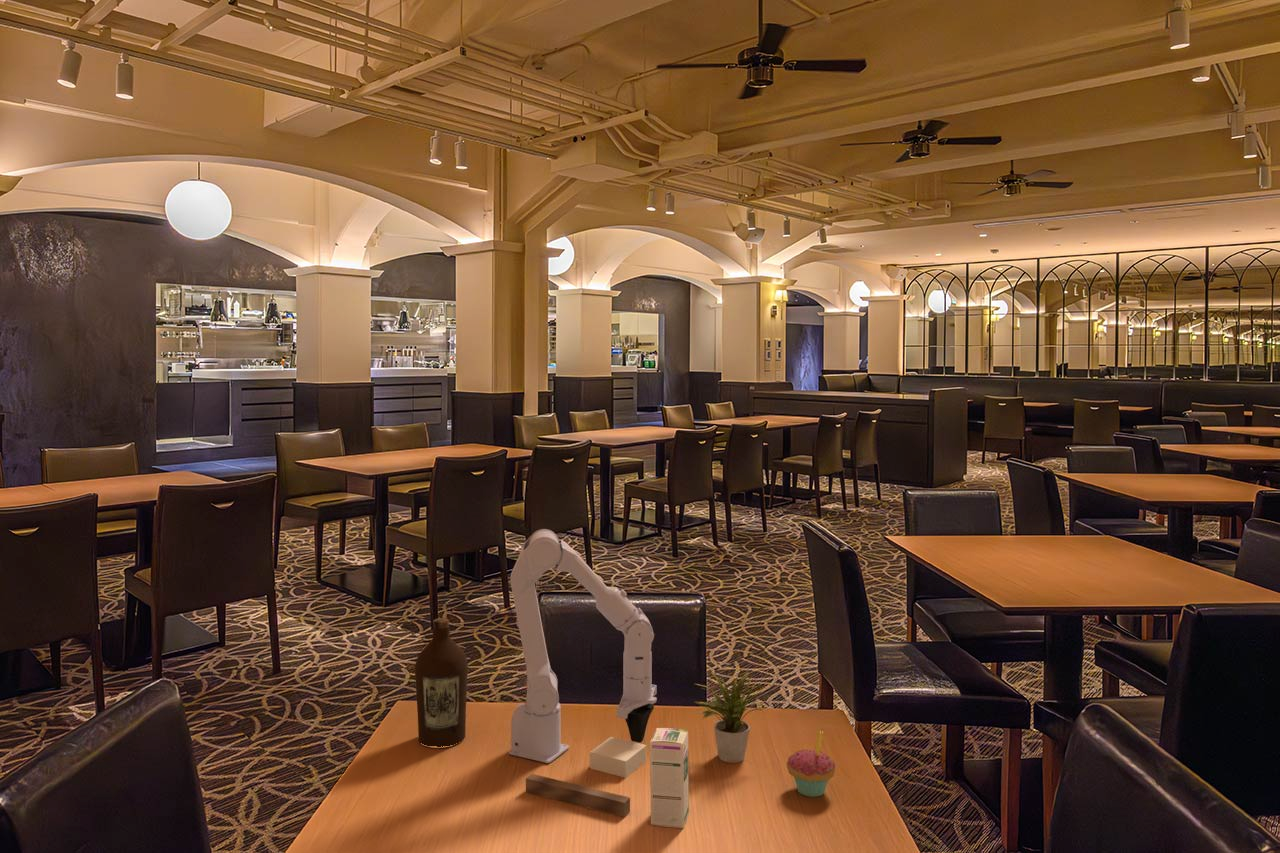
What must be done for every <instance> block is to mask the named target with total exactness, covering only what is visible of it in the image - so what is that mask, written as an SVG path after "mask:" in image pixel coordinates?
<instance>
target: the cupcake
mask: <svg viewBox="0 0 1280 853" xmlns="http://www.w3.org/2000/svg"><path fill="white" fill-rule="evenodd" d="M823 730H824V727H822V728H821V730H819V732H818V739H817V743H816V747H815V748H816V749H814V748H813V749H801V750H797V751H796V752H793V753H792V754H790V756H789V757H788V758H787V761H786V769H787V770H788V774H789V775H790V776H792V777H793V779H794V782H795V786H796V788H797V789H796V790H797V792H799V793H800V794H801V795H803V796H806V797H811V798H816V797H820V796H822V795H824V793H825V791H826V787H827V785H828V782H829V780H831V779H832V778H833V777H834V776H835V772H836V771H835V770H836V763H835V762H834V761H833V759H832V758H831V757H830V756H828V755H827V754H826V753H824V752H823V751H821V745H822V741H823V736H824V731H823Z"/></svg>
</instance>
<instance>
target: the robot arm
mask: <svg viewBox="0 0 1280 853" xmlns="http://www.w3.org/2000/svg"><path fill="white" fill-rule="evenodd" d="M560 542H561V544H560ZM553 567H555V571H557V572H565V573H569V574H570V575H571V576H573V577H574V578H575V580H576V581H577V582H579V584H580V585H582V587H584V588H585V589H586V590H587V591H588V592H589V593H590V594H591V595H592V596H593V597H594V598H595V608H596V609H597V610H598V612H599V613H601V614H602V616H603V617H604V618H605V619H606V620H607V621H609V623H610V624H611V625H612V626H613V627H614V628H615V629H616V630H617V631H621V632H622V635H624V640H623V641H624V646H623V647H624V650H623V653H622V654H623V658H622V660H623V661H622V662H623V664H622V665H623V668H622V670H623V671H622V672H623V673H622V674H623V676H622V678H623V679H622V680H623V688H622V689H623V690H622V691H623V692H622V693H623V694H622V695H621V699H620V702H619V705H618V706H617V707H616V718H619V719H623V720H625V722H626V726H627V728H628V733H629V736H630V737H629V738H630V740H631V742H635V743H640V744H642V742H643V741H644V738H645V735H646V730H647V727H648V726H647V725H648V722H649V719H650V717H651V714H652V712H653V711H654V707H655V703H656V702H657V701H658V700H657V699H658V698H657V697H656V695H657V693H658V692H657V689H658V688H657V686H658V685H656V684H652V683H653V682H652V681H653V680H652V678H653V677H652V676H653V674H652V669H653V668H652V667H653V666H652V663H653V657H652V653H653V652H652V643H653V641H654V638H655V633H654V630H653V626H652V624H651V622H650V619H649V618H648V617H647V616H646V614H645V613H644V612H643V610H642V609H641V608H640V607H637V606H635V604H633V603H632V601H631V600H629V598H627V596H628V594H627V592H626V591H625V590H624V589H622V588H621V589H619V588H618V587H617V586H607V585H606V584H605V583H604V581H602V579H601V578H600V577H599V576H598V575H597V574H596V573H595V571H594V570H592V569H591V567H590V566H589V564H587V563H586V562H585V560H584V559H583V558H582V557H581V555H580V554H578V553H577V552H576V551H575V550H574V549H573V548H572V546H570V545H569V544H568V543H567V542H565V541H564V540H563V539H561V538H560V539H559V537H558V535H557V534H556V533H555V532H554V531H552V530H551V529H546V528H542V529H538V530H536V531H534V532H533V533H532V534H531V535H530V536H529V537H528V538H527V539H526V541H525V542H524V543H523V546H522V547H521V550H520V553H519V555H518V558H517V559H516V562H515V564H514V566H513V568H512V571H511V573H510V580H509V581H510V586H511V591H512V597H513V603H514V607H515V613H516V614H515V615H516V619H517V625H518V629H519V634H520V635H519V636H520V641H521V646H522V652H523V657H524V662H525V666H526V667H525V669H526V677H527V678H526V688H527V689H526V698H525V699H526V700H525V701H526V703H520V704H519V705H518V706H516V708H515V709H514V710H513V713H512V716H511V721H510V722H511V723H510V726H511V727H510V730H511V731H510V734H511V736H510V739H511V740H510V741H511V743H510V745H511V748H510V749H511V750H509V751H508V752H509V753H508V754H509V755H511V756H515V757H520V758H524V759H527V760H531V761H532V760H533V761H537V762H541V763H546V764H549V763H551V762H553V761H554V760H555V759H557V758H558V757H559V756H561V755H562V754H563V753H565V752H566V751H567V750H568V749H569V748H570V745H569V744H566V743H561V741H562V739H561V738H562V736H561V730H562V729H561V727H562V726H561V725H562V724H561V723H562V722H561V717H562V716H561V714H562V712H561V711H562V710H561V703H560V702H559V701H560V695H559V692H558V685H559V683H558V682H559V680H558V678H557V677H558V676H557V675H556V673H555V672H554V671H553V670H552V668H551V665H550V664H551V663H550V660H549V656H548V650H547V644H546V638H545V634H544V628H543V622H542V618H541V617H542V616H541V612H540V606H539V600H538V596H537V589H536V585H535V584H536V583H537V582H538V581H539V579H540V578H541V577H542V575H543V574H544V573H546V572H547V571H548V570H551V569H552V568H553Z"/></svg>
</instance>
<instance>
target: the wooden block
mask: <svg viewBox="0 0 1280 853" xmlns="http://www.w3.org/2000/svg"><path fill="white" fill-rule="evenodd" d="M646 762H647V744H643V743H638V742H633V741H630V740H627V739H623V738H619V737H615V736H610V737H609V738H607V739H606V740H605V741H603V742H602V743H600V744H599V745H598V746H596V747H594V749H592V750H590V751H589V769H591V770H595V771H598V772H602V773H606V774H610V775H614V776H618V777H622V778H624V779H627V778H628V777H629V776H630V775H631V774H632V773H634V772H635V771H637V769H639V768H640V767H641V766H642V765H643V764H645V763H646Z"/></svg>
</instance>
